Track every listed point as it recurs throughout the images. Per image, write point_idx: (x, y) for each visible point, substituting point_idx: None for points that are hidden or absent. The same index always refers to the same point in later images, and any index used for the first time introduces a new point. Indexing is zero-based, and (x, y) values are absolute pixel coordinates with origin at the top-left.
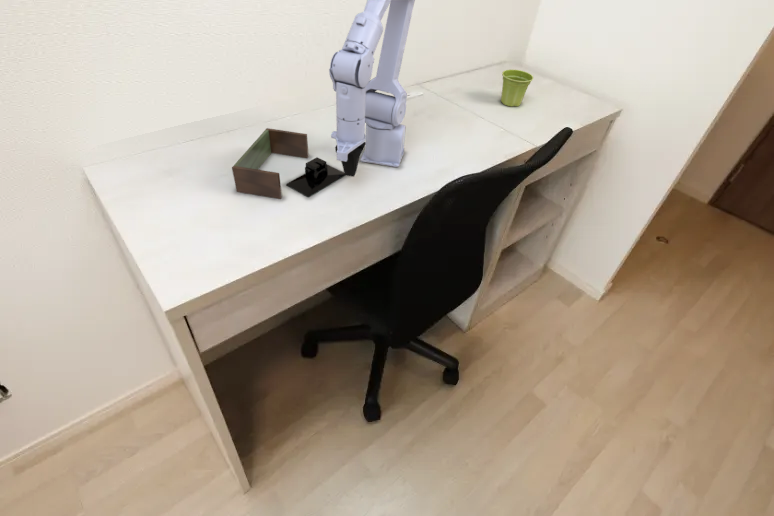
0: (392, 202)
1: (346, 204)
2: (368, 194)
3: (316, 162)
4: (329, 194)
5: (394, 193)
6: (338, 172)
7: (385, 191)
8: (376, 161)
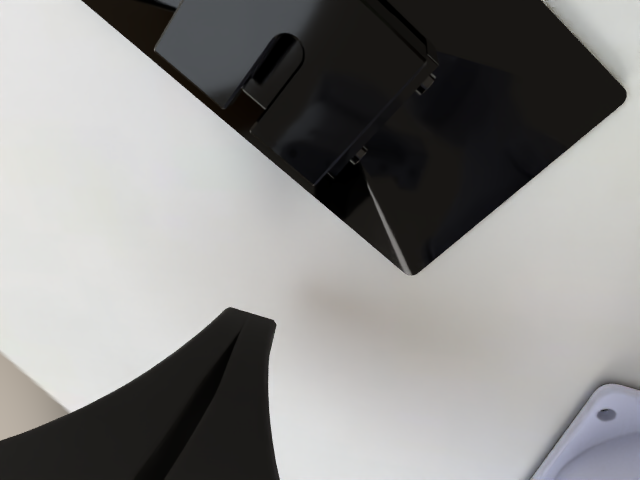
0: None
1: (63, 246)
2: None
3: (302, 59)
4: (142, 143)
5: None
6: (426, 222)
7: None
8: (558, 473)
